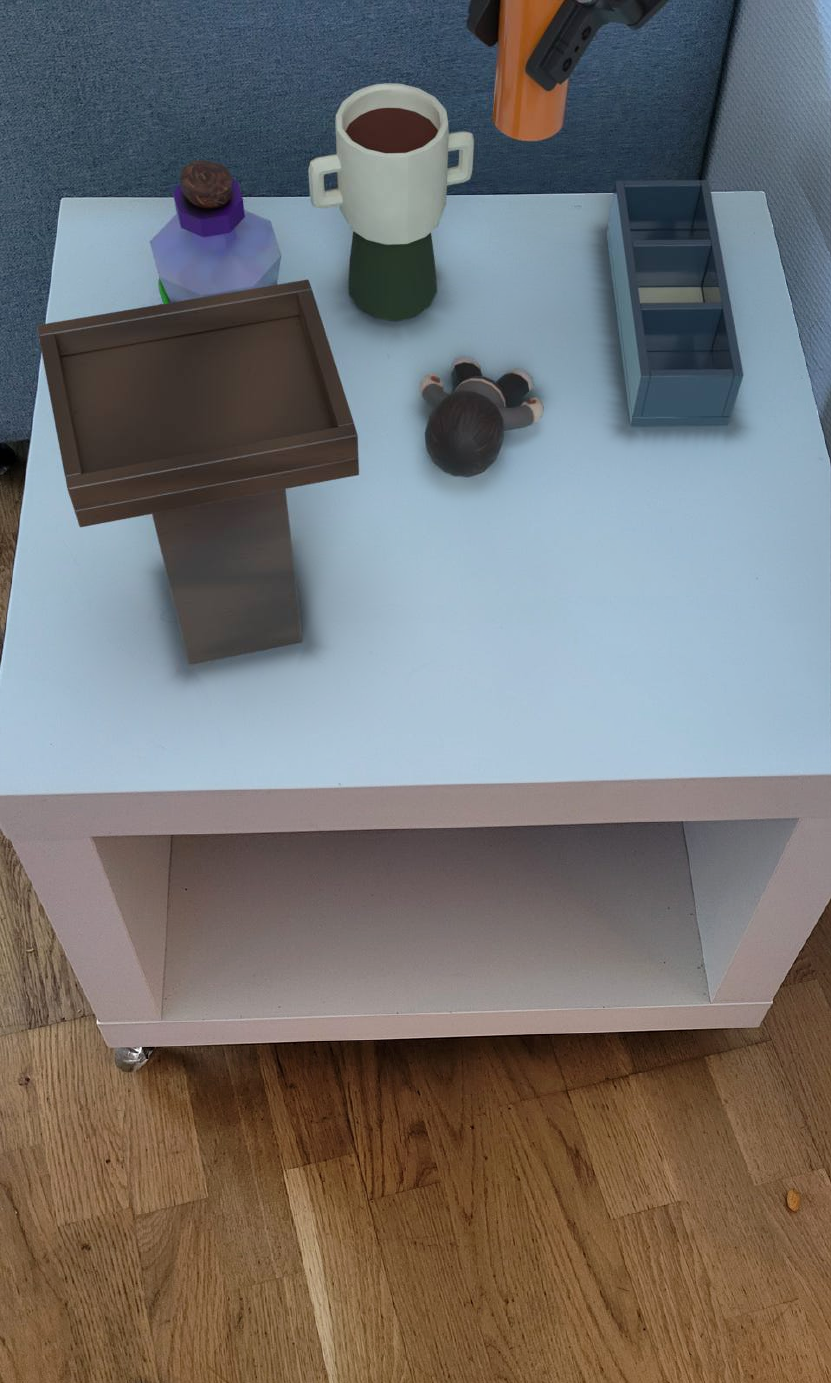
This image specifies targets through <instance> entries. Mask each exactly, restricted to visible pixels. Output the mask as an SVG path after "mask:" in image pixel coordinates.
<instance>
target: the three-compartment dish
mask: <svg viewBox="0 0 831 1383" xmlns="http://www.w3.org/2000/svg"><path fill="white" fill-rule="evenodd" d="M606 241H607V242H606V243H607V249H608V257H609V265H610V274H611V282H612V290H613V298H614V304H615V305H614V306H615V312H616V313H615V314H616V322H617V330H618V338H619V344H620V351H621V352H620V353H621V362H622V368H623V369H622V370H623V377H624V386H625V393H626V401H627V402H626V403H627V409H628V416H629V426H630V427H687V426H689V427H692V426H693V427H694V426H699V427H700V426H701V427H702V426H703V427H704V426H705V427H706V426H708V427H709V426H729V424H730V421H731V416H732V414H733V411H734V408H735V404H736V401H737V398H738V394H739V391H740V388H741V384H742V381H743V379H744V370H743V365H742V359H741V354H740V348H739V343H738V337H737V330H736V326H735V321H734V320H735V319H734V314H733V308H732V303H731V296H730V292H729V286H728V281H727V276H726V269H725V263H724V258H723V253H722V248H721V241H720V234H719V230H718V224H717V218H716V214H715V208H714V202H713V196H712V191H711V184H710V180H709V179H701V180H700V179H684V180H683V179H682V180H681V179H680V180H679V179H678V180H677V179H676V180H675V179H672V180H671V179H669V180H668V179H667V180H666V179H665V180H664V179H662V180H659V179H657V180H655V179H654V180H653V179H652V180H649V179H647V180H614V187H613V193H612V198H611V203H610V210H609V216H608V222H607V229H606Z"/></svg>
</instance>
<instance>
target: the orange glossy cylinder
mask: <svg viewBox="0 0 831 1383" xmlns="http://www.w3.org/2000/svg"><path fill="white" fill-rule="evenodd" d="M563 1H564V0H500V12H499V26H498V41H497V43H496V54H495V55H496V56H495V70H494V85H493V86H494V87H493V99H492V100H493V101H492V112H491V114H492V117H491V118H492V121H493V124H494V125H495V128H497V130H499V132H500V133H502V134H503V135H505V136H507V137H509V138H511V139H514V140H517V141H523V142H538V141H544V140H546V139H549V138H551V137H553V136H555V135H557V133H559V132H560V131H561V129H562V128H563V127H564V123H565V121H566V120H565V119H566V112H567V102H568V95H569V86H570V78H571V75H570V76H569V78H568V79H567V80H565V81H564V82H563V83H562V84H561V85H560V84H559V83H557V85H556V86H555V87H554V89H552V90H551V91H546V90H545V89H543V88H542V87H541V86H539V85H538V84H537V83H536V82H535V81H534V80H533V79H531V78H530V77H529V76H528V75H527V74H526V72H525V67H526V64H527V61H528V60H529V58H530V56H531V55H532V53H533V51H534V50H535V48H536V46H537V45H538V43H539V41H540V40H541V38H542V36H543V35H544V33H545V31H546V30H547V28H548V26H549V25H550V23H551V21H552V20H553V18H554V16H555V15H556V13H557V11H558V9H559V8H560V6H561V4H562V3H563ZM572 1H573V0H572Z"/></svg>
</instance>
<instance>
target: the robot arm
mask: <svg viewBox="0 0 831 1383" xmlns="http://www.w3.org/2000/svg"><path fill="white" fill-rule="evenodd" d="M669 2H670V0H573V1H572V0H564V1H563V3H562V4H561V6H560V8H559V9H558V11H557V13H556V15H555V16H554V18H553V20H552V21H551V23H550V25H549V26H548V28H547V30H546V31H545V33H544V35H543V36H542V38H541V40H540V41H539V43H538V45H537V46H536V48H535V50H534V51H533V53H532V55H531V56H530V58H529V60H528V61H527V64H526V67H525V72H526V74H527V75H528V76H529V77H530V78H531V79H533V80H534V81H535V82H536V83H537V84H538V85H539V86H541V87H542V88H543V89H545V90H546V91H551V90H552V89H554V87H555V86H556V85H557V83H559V84H560V85H561V84H562V83H563V82H564V81H565V80H567V79H568V78H569V76H570V77H571V75H572V73H573V72H574V70H575V68H576V66H578V64H579V62H580V60H581V58H582V57H583V55H584V54H585V52H586V51H587V49H588V48H589V46H590V44H591V43H592V41H593V39H595V38H594V37H595V36H596V34H597V33H598V31H599V30H600V29H601V28H602V27H604V26H605V25H607V24H610V23H615V24H622V25H623V24H624V25H626V26H627V27H628V29H630V30H633V31H637V30H640V29H641V28H643V27H644V26H645V25H646V24H647V23H648V22H649V21H650V20H651V19H652V18H653V17H654V16H655V15H656V14H657V13H659V11H660V10H661V9H662V8H664V6H665V5H667V4H668V3H669ZM468 5H469V6H468V8H467V14H469V15H468V16H467V19H466V23H465V24H466V29H467V30H468V32H470V33H471V34H473V35H474V37H476V38H477V39H478V40H479V41H480V42H481V43H483V44H484V45H486V47H488V48H492V47H494V46H495V45H497V41H498V26H499V12H500V0H470V2H469V4H468Z"/></svg>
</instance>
